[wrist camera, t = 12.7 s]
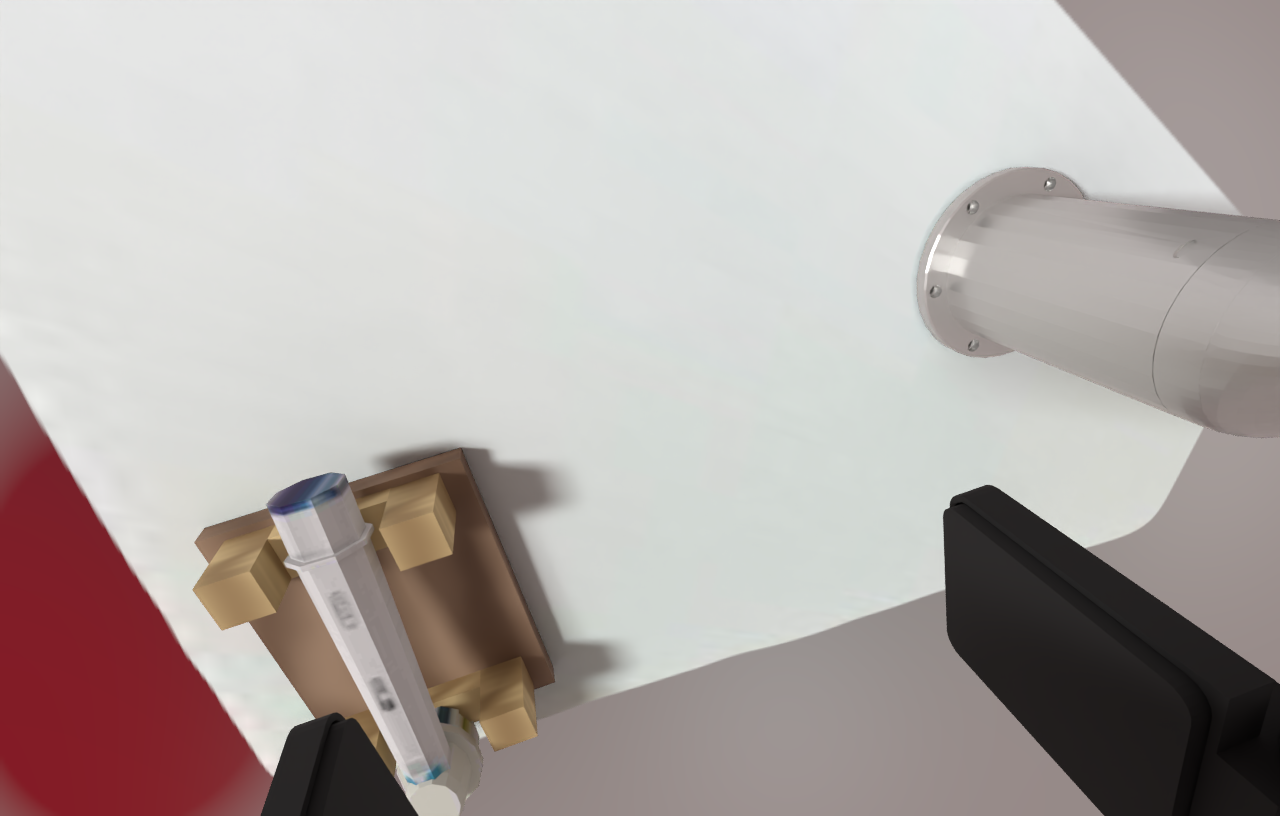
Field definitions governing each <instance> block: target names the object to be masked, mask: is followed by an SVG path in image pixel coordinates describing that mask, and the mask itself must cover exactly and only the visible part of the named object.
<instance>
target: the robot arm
mask: <svg viewBox="0 0 1280 816" xmlns="http://www.w3.org/2000/svg"><path fill="white" fill-rule="evenodd" d="M917 300H918V305H919V310H920V314H921V316H922V318H923V321H924V323H925V325H926V327H927V328H928V330H929V331H930V332H931V334H932V335H933V336H934V338H936V339H937V340H938V341H939V342H941V343H942V344H943V345H944V346H946V347H948V348H950V349H952V350H954V351H956V352H958V353H961V354H964V355H967V356H970V357H982V358H987V357H994V356H1001V355H1004V354H1007V353H1010V352H1013V351H1017V352H1020V353H1022V354H1025V355H1027V356H1029V357H1032V358H1034V359H1037V360H1039V361H1042V362H1044V363H1047V364H1049V365H1052V366H1054V367H1056V368H1059V369H1061V370H1064V371H1066V372H1069V373H1071V374H1074V375H1076V376H1078V377H1081V378H1083V379H1086V380H1088V381H1091V382H1093V383H1096V384H1098V385H1101V386H1103V387H1105V388H1108V389H1110V390H1113V391H1115V392H1118V393H1120V394H1123V395H1125V396H1127V397H1130V398H1132V399H1135V400H1137V401H1140V402H1142V403H1145V404H1147V405H1149V406H1152V407H1154V408H1157V409H1159V410H1162V411H1164V412H1167V413H1169V414H1172V415H1174V416H1177V417H1180V418H1182V419H1185V420H1187V421H1190V422H1192V423H1195V424H1197V425H1200V426H1202V427H1205V428H1208V429H1211V430H1214V431H1217V432H1221V433H1226V434H1231V435H1235V436H1242V437H1255V438H1273V437H1280V220H1273V219H1263V218H1254V217H1245V216H1235V215H1226V214H1216V213H1207V212H1197V211H1188V210H1179V209H1169V208H1160V207H1150V206H1141V205H1131V204H1122V203H1112V202H1103V201H1093V200H1084V198H1083V196H1082V194H1081V192H1080V191H1079V190H1078V189H1077V187H1076V186H1075V185H1074V184H1073V183H1072V182H1071V181H1070V180H1069V179H1067V178H1066V177H1064V176H1062V175H1061V174H1059V173H1057V172H1054V171H1051V170H1048V169H1044V168H1033V167H1019V168H1009V169H1005V170H1002V171H999V172H995V173H993V174H991V175H989V176H987V177H985V178H983V179H981V180H979V181H977V182H976V183H974V184H973V185H972V186H970V187H969V188H968V189H966V190H965V191H964V192H962V193H961V194H960V195H959V196H958V197H957V198H956V199H955V200H954V201H953V202H952V203H951V205H950V206H949V207H948V208H947V209H946V210H945V212H944V213H943V214H942V216H941V217H940V219H939V220H938V221H937V223H936V224H935V226H934V228H933V230H932V232H931V234H930V236H929V238H928V240H927V242H926V244H925V247H924V250H923V253H922V256H921V259H920V263H919V269H918V275H917ZM943 525H944V556H945V586H946V616H947V633H948V636H949V640H950V642H951V644H952V646H953V647H954V649H955V651H956V652H957V653H958V654H959V656H960V657H961V658H962V659H963V660H964V661H965V662H966V663H967V664H968V665H969V667H971V669H972V670H973V671H974V672H975V673H976V674H977V675H978V676H979V678H980V679H981V680H982V681H983V682H984V683H985V684H986V685H987V687H988V688H989V689H990V690H991V691H992V692H993V693H994V694H995V695H996V696H997V697H998V699H999V700H1000V701H1001V702H1002V703H1003V704H1004V705H1005V706H1006V708H1007V709H1008V710H1009V711H1010V712H1011V713H1012V714H1013V715H1014V716H1015V717H1016V719H1017V720H1018V721H1019V722H1020V723H1021V724H1022V725H1023V726H1024V727H1025V729H1027V731H1028V732H1029V733H1030V734H1031V735H1032V736H1033V737H1034V738H1035V739H1036V741H1037V742H1038V743H1039V744H1040V745H1041V746H1042V747H1043V748H1044V750H1045V751H1046V752H1047V753H1048V754H1049V755H1050V756H1051V757H1052V758H1053V759H1054V761H1055V762H1056V763H1057V764H1058V765H1059V766H1060V767H1061V768H1062V769H1063V771H1064V772H1065V773H1066V774H1067V775H1068V776H1069V777H1070V778H1071V779H1072V781H1074V783H1075V784H1076V785H1077V786H1078V787H1079V788H1080V789H1081V790H1082V792H1083V793H1084V794H1085V795H1086V796H1087V797H1088V798H1089V799H1090V800H1091V802H1092V803H1093V804H1094V805H1095V806H1096V807H1097V808H1098V809H1099V810H1100V811H1101V813H1102V814H1103V815H1104V816H1280V684H1279V683H1277V682H1276V681H1275V680H1274V679H1272V678H1271V677H1270V676H1268V675H1267V674H1265V673H1264V672H1262V671H1261V670H1259V669H1258V668H1257V667H1255V666H1254V665H1252V664H1251V663H1249V662H1248V661H1246V660H1245V659H1244V658H1242V657H1241V656H1239V655H1238V654H1236V653H1235V652H1233V651H1232V650H1231V649H1229V648H1228V647H1226V646H1225V645H1223V644H1222V643H1220V642H1219V641H1218V640H1216V639H1215V638H1213V637H1212V636H1210V635H1209V634H1207V633H1206V632H1205V631H1203V630H1202V629H1200V628H1199V627H1197V626H1196V625H1194V624H1193V623H1192V622H1190V621H1189V620H1187V619H1186V618H1184V617H1183V616H1182V615H1180V614H1179V613H1177V612H1176V611H1174V610H1173V609H1171V608H1170V607H1169V606H1167V605H1166V604H1164V603H1163V602H1161V601H1160V600H1158V599H1157V598H1156V597H1154V596H1153V595H1151V594H1150V593H1148V592H1147V591H1145V590H1144V589H1143V588H1141V587H1140V586H1138V585H1137V584H1135V583H1134V582H1132V581H1131V580H1130V579H1128V578H1127V577H1125V576H1124V575H1122V574H1121V573H1119V572H1118V571H1117V570H1115V569H1114V568H1112V567H1111V566H1109V565H1108V564H1106V563H1105V562H1103V561H1102V560H1101V559H1099V558H1098V557H1096V556H1095V555H1093V554H1092V553H1091V552H1089V551H1088V550H1086V549H1085V548H1083V547H1082V546H1080V545H1079V544H1078V543H1076V542H1075V541H1073V540H1072V539H1070V538H1069V537H1067V536H1066V535H1065V534H1063V533H1062V532H1060V531H1059V530H1057V529H1056V528H1054V527H1053V526H1052V525H1050V524H1049V523H1047V522H1046V521H1044V520H1043V519H1041V518H1040V517H1039V516H1037V515H1036V514H1034V513H1033V512H1031V511H1030V510H1028V509H1027V508H1026V507H1024V506H1023V505H1021V504H1020V503H1018V502H1017V501H1015V500H1014V499H1013V498H1011V497H1010V496H1008V495H1007V494H1005V493H1004V492H1002V491H1001V490H1000V489H998V488H996V487H994V486H992V485H985V486H982V487H979V488H976V489H973V490H971V491H968V492H965V493H962V494H959V495H956V496H954V497H953V498H952V499H951V501H950V508H948V509H946V510H945V511H944V514H943ZM261 816H419V815H418V814H417V812H416V811H415V809H414V808H413V806H412V804H411V803H410V801H409V800H408V798H407V797H406V795H405V794H404V792H403V790H402V789H401V787H400V786H399V784H398V783H397V781H396V780H395V778H394V777H393V775H392V773H391V772H390V770H389V769H388V767H387V766H386V764H385V763H384V761H383V760H382V758H381V756H380V755H379V753H378V752H377V750H376V749H375V747H374V746H373V744H372V743H371V741H370V739H369V738H368V736H367V735H366V733H365V732H364V730H363V729H362V727H361V726H360V724H359V723H358V721H357V720H356V719H354V718H349V719H345V718H344V717H343V716H342V715H341V714H339V713H337V712H335V713H332V714H329V715H326V716H323V717H320V718H317V719H314V720H311V721H309V722H306V723H303V724H300V725H297V726H295V727H294V728H293V729H292V730H291V731H290V733H289V735H288V737H287V739H286V742H285V745H284V748H283V751H282V754H281V757H280V760H279V763H278V766H277V769H276V772H275V775H274V778H273V781H272V784H271V787H270V790H269V793H268V796H267V798H266V801H265V804H264V807H263V810H262V813H261Z"/></svg>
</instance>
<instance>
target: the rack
mask: <svg viewBox="0 0 1280 816" xmlns="http://www.w3.org/2000/svg"><path fill="white" fill-rule="evenodd" d="M349 486H350V488H351V490H352V493H353V495H354V498H355V500H356V503H357V505H358V508H359V510H360V513H361V515H362V518H363V520H364V522H365V523H370V524H373V526H374V531H373V533H372V535H371V540H372V543H373V546H374V548H375V551H376V554H377V556H378V559H379V562H380V564H381V567H382V570H383V572H384V575H385V578H386V580H387V583H388V586H389V588H390V591H391V594H392V596H393V599H394V602H395V604H396V607H397V610H398V612H399V615H400V617H401V620H402V623H403V625H404V628H405V631H406V633H407V636H408V639H409V641H410V644H411V647H412V649H413V652H414V655H415V657H416V660H417V663H418V665H419V668H420V671H421V673H422V676H423V679H424V681H425V684H426V687H427V689H428V692H429V695H430V697H431V700H432V703H433V705H434V708H437V707H440V706H442V707H448V708H453V709H459V714H461V715H462V716H463V717H464V718H466V719H467V720H468V721H469V722H471V721H473V722H477V721H479V720H480V724H481V726H482V728H483V730H484V732H485V734H486V736H487V738H488V740H489V742H490V743H491V746H492V747H493V749H494V751H498V750H501V749H504V748H506V747H509V746H512V745H515V744H517V743H520V742H523V741H526V740H528V739H531V738H534V737H536V736H537V722H536V710H535V697H534V689H537V688H540V687H543V686H545V685H548V684H551V683H554V682H555V679H554V671H553V666H552V663H551V661H550V659H549V656H548V654H547V651H546V649H545V647H544V644H543V642H542V640H541V637H540V635H539V632H538V630H537V628H536V625H535V623H534V620H533V618H532V616H531V613H530V611H529V609H528V606H527V604H526V601H525V599H524V597H523V594H522V592H521V590H520V587H519V585H518V582H517V580H516V578H515V575H514V573H513V570H512V568H511V566H510V563H509V561H508V559H507V556H506V554H505V551H504V549H503V547H502V544H501V542H500V540H499V537H498V535H497V532H496V530H495V528H494V525H493V523H492V521H491V518H490V516H489V513H488V511H487V509H486V506H485V504H484V501H483V499H482V497H481V494H480V492H479V490H478V487H477V485H476V482H475V480H474V478H473V475H472V473H471V471H470V468H469V466H468V463H467V461H466V459H465V456H464V454H463V451H462V449H461V448H458V449H455V450H452V451H449V452H445V453H442V454H439V455H436V456H433V457H430V458H426V459H423V460H420V461H417V462H414V463H410V464H407V465H404V466H401V467H398V468H395V469H391V470H388V471H385V472H382V473H379V474H375V475H372V476H369V477H366V478H363V479H360V480H356V481H353V482H350V483H349ZM194 543H195V544H196V546H197V547H198V549H199V550H200V552H201V553H202V554H203V556H204V557H205V559H206V560H207V562H208V563H209V565H208V567H207V568H206V570H205V571H204V573H203V574H202V576H201V577H200V579H199V580H198V582H197V583H196V585H195V586H194V588H193V589H192V590H193V591H194V593H195V594H196V596H197V597H198V598H199V600H200V601H201V602H202V604H203V605H204V607H205V608H206V609H207V611H208V612H209V614H210V615H211V616H212V618H213V619H214V621H215V622H216V623H217V625H218V626H219V627H220V629H221V630H225V629H228V628H231V627H234V626H237V625H240V624H243V623H246V622H249V623H250V624H251V626H252V627H253V629H254V630H255V631H256V633H257V634H258V636H259V637H260V639H261V640H262V642H263V643H264V645H265V646H266V647H267V649H268V650H269V652H270V653H271V655H272V656H273V658H274V659H275V661H276V662H277V663H278V665H279V666H280V668H281V669H282V671H283V672H284V674H285V675H286V677H287V678H288V679H289V681H290V682H291V684H292V685H293V687H294V688H295V690H296V691H297V692H298V694H299V695H300V697H301V698H302V700H303V701H304V703H305V704H306V706H307V707H308V708H309V710H310V711H311V713H312V714H313V716H314V717H315V719H317V718H320V717H323V716H326V715H329V714H332V713H335V712H337V713H339V714H341V715H342V716H343V717H344V718H345V719H349V718H354V719H356V720H357V721H358V723H359V724H360V726H361V727H362V729H363V730H364V732H365V733H366V735H367V736H368V738H369V739H370V741H371V743H372V744H373V746H374V747H375V749H376V750H377V752H378V753H379V755H380V756H381V758H382V760H383V761H384V763H385V764H386V766H387V767H388V769H389V770H390V772H391V773H392V775H393V777H394V774H395V768H396V760H395V758H394V756H393V754H392V752H391V750H390V748H389V747H388V745H387V743H386V741H385V739H384V737H383V735H382V733H381V731H380V729H379V727H378V725H377V724H376V722H375V720H374V718H373V716H372V714H371V712H370V710H369V708H368V706H367V704H366V703H365V701H364V699H363V697H362V695H361V693H360V691H359V689H358V687H357V685H356V683H355V681H354V680H353V678H352V676H351V674H350V672H349V670H348V668H347V666H346V664H345V662H344V660H343V659H342V657H341V655H340V653H339V651H338V649H337V647H336V645H335V643H334V641H333V639H332V637H331V636H330V634H329V632H328V630H327V628H326V626H325V624H324V622H323V620H322V618H321V616H320V615H319V613H318V611H317V609H316V607H315V605H314V603H313V601H312V599H311V597H310V595H309V593H308V592H307V590H306V588H305V586H304V584H303V582H302V580H301V578H300V576H299V574H298V572H297V571H296V570H293V569H290V568H287V567H286V566H285V564H284V561H285V559H286V558H287V556H288V555H289V554H288V552H287V550H286V547H285V545H284V543H283V541H282V539H281V536H280V534H279V532H278V530H277V528H276V525H275V523H274V521H273V519H272V517H271V514H270V512H269V510H268V508H267V509H264V510H261V511H258V512H255V513H251V514H248V515H245V516H242V517H239V518H235V519H232V520H229V521H226V522H223V523H220V524H216V525H213V526H210V527H207V528H204V530H203V531H202V532H201V534H200V535H199V537H198V538H197V539H196V541H195V542H194Z"/></svg>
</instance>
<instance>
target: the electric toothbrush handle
mask: <svg viewBox="0 0 1280 816" xmlns="http://www.w3.org/2000/svg"><path fill="white" fill-rule="evenodd" d="M266 506H267V508H268V510H269V512H270V514H271V517H272V519H273V521H274V523H275V525H276V528H277V530H278V532H279V534H280V536H281V539H282V541H283V543H284V545H285V547H286V550H287V552H288V554H289V555H288V556H287V558H286V559H285V561H284V564H285V566H286V567H287V568H290V569H293V570H296V571H297V572H298V574H299V576H300V578H301V580H302V582H303V584H304V586H305V588H306V590H307V592H308V593H309V595H310V597H311V599H312V601H313V603H314V605H315V607H316V609H317V611H318V613H319V615H320V616H321V618H322V620H323V622H324V624H325V626H326V628H327V630H328V632H329V634H330V636H331V637H332V639H333V641H334V643H335V645H336V647H337V649H338V651H339V653H340V655H341V657H342V659H343V660H344V662H345V664H346V666H347V668H348V670H349V672H350V674H351V676H352V678H353V680H354V681H355V683H356V685H357V687H358V689H359V691H360V693H361V695H362V697H363V699H364V701H365V703H366V704H367V706H368V708H369V710H370V712H371V714H372V716H373V718H374V720H375V722H376V724H377V725H378V727H379V729H380V731H381V733H382V735H383V737H384V739H385V741H386V743H387V745H388V747H389V748H390V750H391V752H392V754H393V756H394V758H395V760H396V762H397V764H398V768H397V775H398V777H399V779H400V781H401V784H402V786H403V788H404V790H405V792H406V797H407V798H408V800H409V801H410V803H411V804H412V806H413V808H414V809H415V811H416V812H417V814H418V815H419V816H460V815H461V813H462V812H463V810H464V805H465V801H466V799H467V798H468V797H469V796H470V795H471V794H472V793H473V792H474V790H475V789H476V788H477V787H478V786H479V782H480V777H481V772H482V767H483V757H482V754H481V751H480V749H479V735H478V732H477V730H476V727H475V724H474V722H473V721H471V722H469V721H468V720H467V719H466V718H464V717H463V716H462V715H461V714H459V709H453V708H448V707H442V706H440V707H437V708H434V705H433V703H432V700H431V697H430V695H429V692H428V689H427V687H426V684H425V681H424V679H423V676H422V673H421V671H420V668H419V665H418V663H417V660H416V657H415V655H414V652H413V649H412V647H411V644H410V641H409V639H408V636H407V633H406V631H405V628H404V625H403V623H402V620H401V617H400V615H399V612H398V610H397V607H396V604H395V602H394V599H393V596H392V594H391V591H390V588H389V586H388V583H387V580H386V578H385V575H384V572H383V570H382V567H381V564H380V562H379V559H378V556H377V554H376V551H375V548H374V546H373V543H372V540H371V535H372V533H373V531H374V526H373V524H370V523H365V522H364V520H363V518H362V515H361V513H360V510H359V508H358V505H357V503H356V500H355V498H354V495H353V493H352V490H351V488H350V486H349V483H348V481H347V478H346V476H345V474H339V473H327V474H324V475H320V476H316V477H313V478H309V479H305V480H302V481H300V482H298V483H296V484H294V485H292V486H290V487H288V488H286V489H284V490H282V491H280V492H278V493H276V494H275V495H274V496H273V497H272V498H271V499H270V501H269V502H268V503H267V504H266Z"/></svg>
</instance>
